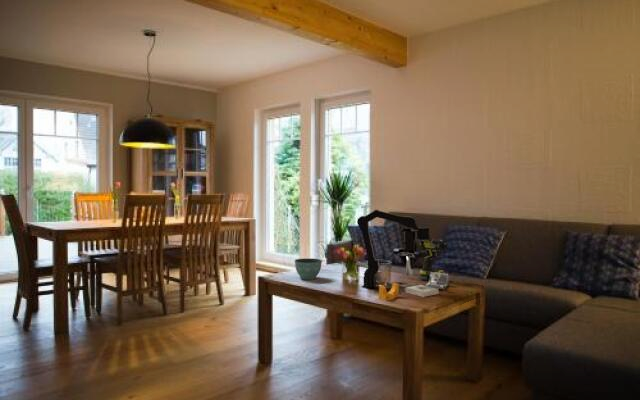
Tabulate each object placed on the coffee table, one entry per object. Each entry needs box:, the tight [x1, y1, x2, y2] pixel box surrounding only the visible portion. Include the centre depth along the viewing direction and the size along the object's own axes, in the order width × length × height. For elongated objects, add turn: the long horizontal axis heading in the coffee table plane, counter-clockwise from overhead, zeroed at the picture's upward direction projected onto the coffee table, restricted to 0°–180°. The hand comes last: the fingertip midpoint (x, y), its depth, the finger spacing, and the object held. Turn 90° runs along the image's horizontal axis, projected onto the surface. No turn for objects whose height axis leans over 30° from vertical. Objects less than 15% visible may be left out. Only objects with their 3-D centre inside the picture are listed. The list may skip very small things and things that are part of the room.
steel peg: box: [405, 255, 414, 277], centre depth 255 cm, size 4×4×10 cm
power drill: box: [418, 238, 450, 282], centre depth 281 cm, size 9×17×25 cm, turn 68°
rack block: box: [405, 284, 439, 298], centre depth 248 cm, size 12×12×2 cm
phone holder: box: [422, 272, 451, 291], centre depth 262 cm, size 18×10×12 cm
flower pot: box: [294, 258, 323, 281], centre depth 280 cm, size 16×16×11 cm
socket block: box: [385, 280, 419, 292], centre depth 259 cm, size 12×12×2 cm
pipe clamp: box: [378, 283, 400, 302], centre depth 236 cm, size 12×4×6 cm, turn 131°
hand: (409, 268), depth 255 cm, fingers closed on steel peg, 4 cm apart
